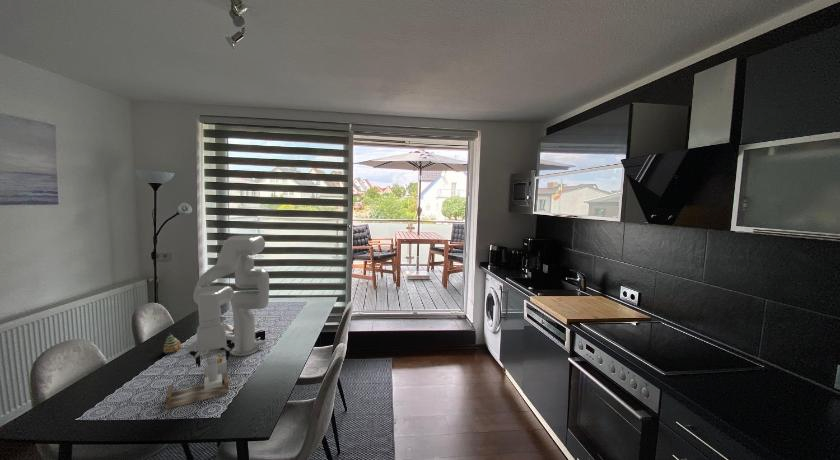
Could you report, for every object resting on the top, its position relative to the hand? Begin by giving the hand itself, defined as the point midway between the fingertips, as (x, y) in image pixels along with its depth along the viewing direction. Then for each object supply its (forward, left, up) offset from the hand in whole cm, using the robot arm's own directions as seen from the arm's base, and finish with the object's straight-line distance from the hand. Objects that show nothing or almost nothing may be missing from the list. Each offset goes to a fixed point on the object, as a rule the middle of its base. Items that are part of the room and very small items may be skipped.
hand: (213, 362), depth 133 cm
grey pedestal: (0, +1, -9) cm, 9 cm away
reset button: (-1, -9, -5) cm, 11 cm away
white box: (-1, -9, -12) cm, 15 cm away
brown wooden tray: (+5, +1, -12) cm, 13 cm away
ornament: (+18, -53, -12) cm, 58 cm away
